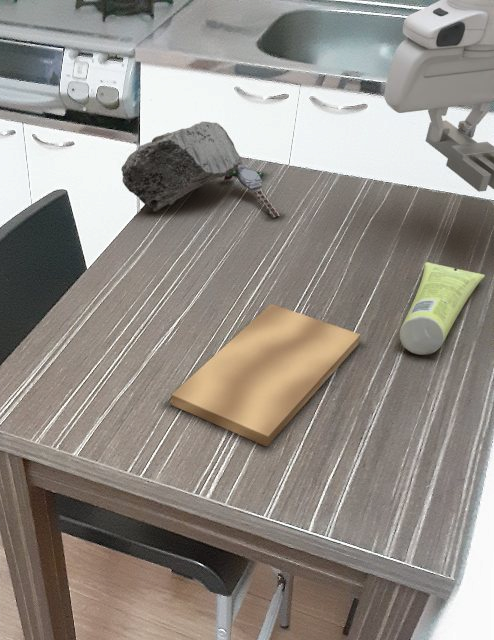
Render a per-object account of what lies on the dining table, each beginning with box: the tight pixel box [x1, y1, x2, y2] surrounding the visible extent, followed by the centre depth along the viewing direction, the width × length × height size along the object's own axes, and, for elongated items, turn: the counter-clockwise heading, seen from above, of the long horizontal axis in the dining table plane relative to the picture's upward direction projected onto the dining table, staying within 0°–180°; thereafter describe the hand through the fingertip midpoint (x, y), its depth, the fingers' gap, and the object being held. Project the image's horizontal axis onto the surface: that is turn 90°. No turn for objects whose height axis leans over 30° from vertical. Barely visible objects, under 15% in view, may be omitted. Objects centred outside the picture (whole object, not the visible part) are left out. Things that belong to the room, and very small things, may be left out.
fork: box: [425, 119, 494, 193], centre depth 97 cm, size 16×5×2 cm, turn 12°
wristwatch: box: [223, 160, 281, 218], centre depth 117 cm, size 4×14×5 cm, turn 25°
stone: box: [121, 121, 241, 213], centre depth 114 cm, size 12×18×15 cm
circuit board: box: [228, 171, 264, 179], centre depth 124 cm, size 6×1×2 cm
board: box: [170, 303, 361, 448], centre depth 86 cm, size 12×22×2 cm, turn 143°
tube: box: [399, 261, 485, 356], centre depth 93 cm, size 6×5×20 cm
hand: (450, 138), depth 99 cm, fingers closed on fork, 2 cm apart
